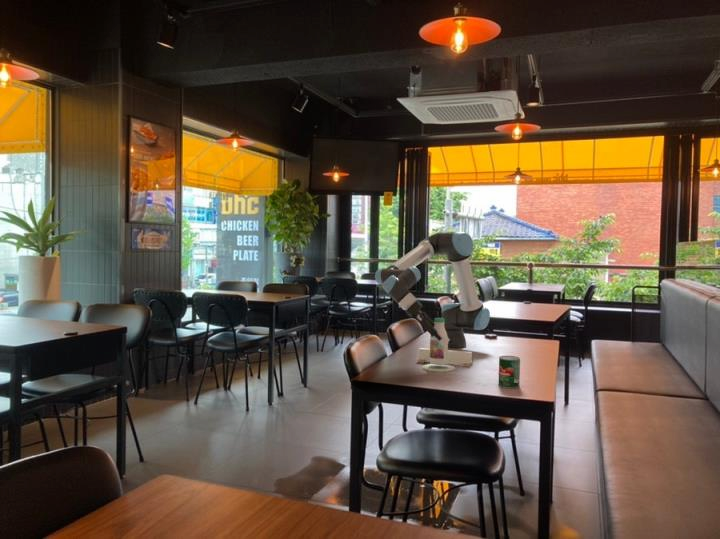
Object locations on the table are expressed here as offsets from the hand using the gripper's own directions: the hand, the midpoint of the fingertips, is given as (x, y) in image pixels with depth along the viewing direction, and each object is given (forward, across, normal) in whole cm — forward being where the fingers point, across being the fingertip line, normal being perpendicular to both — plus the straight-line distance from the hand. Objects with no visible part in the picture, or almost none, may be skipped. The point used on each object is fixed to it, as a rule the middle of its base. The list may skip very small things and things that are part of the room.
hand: (447, 343), depth 248 cm
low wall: (+7, -12, -9) cm, 16 cm away
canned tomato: (+26, +24, +10) cm, 37 cm away
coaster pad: (+5, 0, -10) cm, 12 cm away
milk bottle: (+4, 0, -9) cm, 10 cm away
